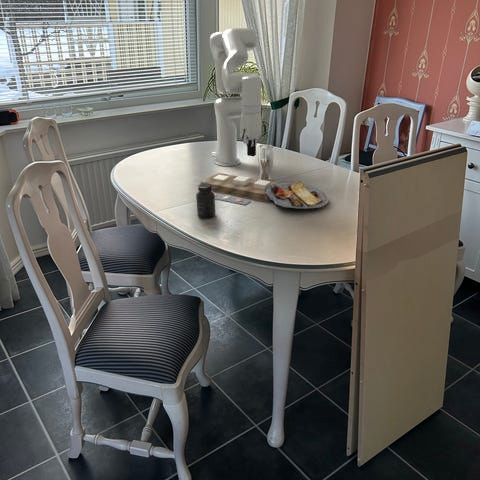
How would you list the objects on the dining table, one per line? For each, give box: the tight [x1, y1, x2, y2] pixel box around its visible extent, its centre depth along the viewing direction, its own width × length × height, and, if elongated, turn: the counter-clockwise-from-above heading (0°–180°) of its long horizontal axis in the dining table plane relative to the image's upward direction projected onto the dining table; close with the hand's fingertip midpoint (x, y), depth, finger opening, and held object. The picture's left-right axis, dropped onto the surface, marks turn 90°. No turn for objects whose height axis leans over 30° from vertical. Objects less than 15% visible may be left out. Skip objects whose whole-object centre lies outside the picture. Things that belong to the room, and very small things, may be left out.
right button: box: [254, 179, 272, 190], centre depth 193 cm, size 5×5×3 cm
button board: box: [200, 172, 277, 203], centre depth 198 cm, size 32×14×3 cm, turn 60°
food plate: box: [265, 180, 329, 210], centre depth 186 cm, size 25×23×4 cm
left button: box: [213, 175, 229, 183], centre depth 202 cm, size 5×5×3 cm
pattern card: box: [214, 192, 252, 206], centre depth 190 cm, size 20×5×1 cm, turn 60°
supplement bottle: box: [195, 183, 216, 220], centre depth 172 cm, size 7×7×12 cm
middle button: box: [233, 175, 251, 186], centre depth 198 cm, size 5×5×3 cm
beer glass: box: [257, 144, 275, 182], centre depth 208 cm, size 7×7×15 cm
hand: (251, 155), depth 189 cm, fingers closed
